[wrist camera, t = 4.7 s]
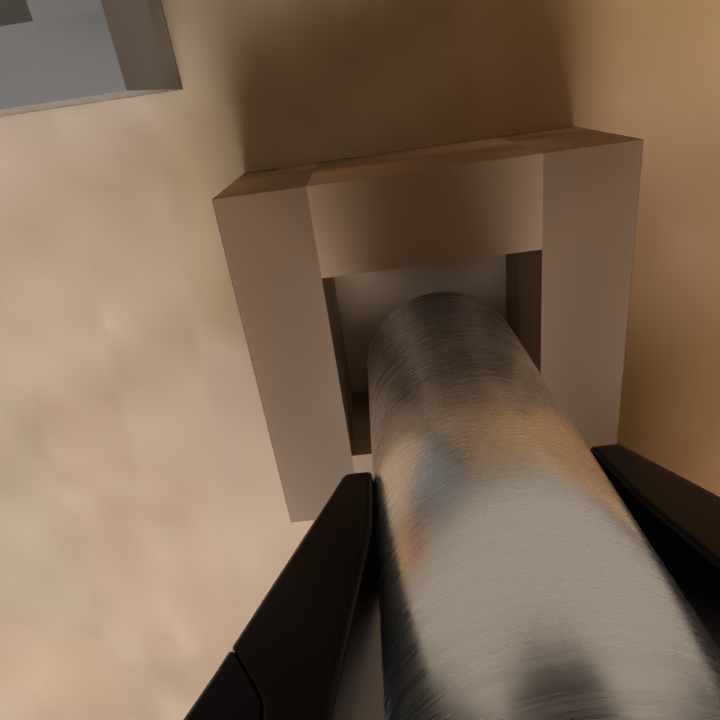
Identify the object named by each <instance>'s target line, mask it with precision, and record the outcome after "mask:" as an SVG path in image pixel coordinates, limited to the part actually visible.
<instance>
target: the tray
mask: <svg viewBox="0 0 720 720" xmlns="http://www.w3.org/2000/svg"><path fill="white" fill-rule="evenodd" d="M181 89H182V86H181V82H180V78H179V74H178V70H177V66H176V61H175V57H174V53H173V49H172V45H171V41H170V37H169V33H168V29H167V25H166V21H165V17H164V13H163V9H162V5H161V1H160V0H0V117H1V116H7V115H14V114H21V113H27V112H34V111H41V110H47V109H54V108H61V107H67V106H74V105H81V104H87V103H94V102H101V101H107V100H114V99H121V98H127V97H134V96H141V95H147V94H154V93H161V92H167V91H174V90H181Z"/></svg>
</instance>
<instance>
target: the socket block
mask: <svg viewBox="0 0 720 720" xmlns="http://www.w3.org/2000/svg"><path fill="white" fill-rule="evenodd" d="M642 150H643V139H638V138H633V137H628V136H622V135H617V134H612V133H606V132H601V131H596V130H590V129H585V128H580V127H568V128H561V129H554V130H547V131H540V132H533V133H526V134H519V135H511V136H504V137H497V138H490V139H483V140H476V141H469V142H462V143H455V144H448V145H441V146H434V147H427V148H420V149H413V150H406V151H399V152H391V153H384V154H377V155H370V156H363V157H356V158H349V159H342V160H335V161H328V162H321V163H314V164H307V165H300V166H293V167H286V168H279V169H272V170H264V171H257V172H250V173H244V174H243V175H242V176H241V177H239V178H238V179H237V180H236V181H234V182H233V183H232V184H231V185H229V186H228V187H227V188H226V189H225V190H223V191H222V192H221V193H220V194H218V195H217V196H216V197H215V198H213V199H212V202H213V206H214V211H215V215H216V219H217V223H218V227H219V231H220V235H221V239H222V243H223V247H224V251H225V255H226V259H227V264H228V268H229V272H230V276H231V280H232V284H233V288H234V292H235V296H236V300H237V304H238V308H239V312H240V317H241V321H242V325H243V329H244V333H245V337H246V341H247V345H248V349H249V353H250V357H251V361H252V365H253V370H254V374H255V378H256V382H257V386H258V390H259V394H260V398H261V402H262V406H263V410H264V414H265V418H266V423H267V427H268V431H269V435H270V439H271V443H272V447H273V451H274V455H275V459H276V463H277V467H278V471H279V476H280V480H281V484H282V488H283V492H284V496H285V500H286V504H287V508H288V512H289V516H290V520H291V522H298V521H307V520H316V518H317V517H318V515H319V514H320V512H321V511H322V509H323V507H324V506H325V504H326V503H327V501H328V500H329V498H330V497H331V495H332V494H333V492H334V491H335V489H336V487H337V486H338V484H339V483H340V481H341V480H342V478H343V477H344V476H345V475H347V474H353V473H362V472H370V473H371V474H372V476H373V469H372V449H371V428H370V408H369V388H368V368H367V359H368V351H369V347H370V343H371V341H372V338H373V336H374V334H375V332H376V330H377V328H378V327H379V326H380V324H381V323H382V322H383V320H384V319H385V318H386V317H387V316H388V315H389V314H390V313H391V312H392V311H394V310H395V309H396V308H397V307H399V306H400V305H402V304H404V303H405V302H407V301H409V300H411V299H413V298H415V297H418V296H421V295H424V294H429V293H434V292H445V291H449V292H460V293H465V294H469V295H472V296H475V297H477V298H479V299H481V300H484V301H485V302H487V303H488V304H490V305H491V306H493V307H494V308H495V309H496V310H497V311H498V312H499V313H500V314H501V315H502V316H503V317H504V319H505V320H506V321H507V323H508V324H509V326H510V327H511V329H512V331H513V332H514V334H515V335H516V337H517V338H518V340H519V341H520V343H521V344H522V346H523V347H524V349H525V351H526V352H527V354H528V355H529V357H530V358H531V360H532V361H533V363H534V364H535V366H536V368H537V369H538V371H539V372H540V374H541V375H542V377H543V378H544V380H545V381H546V383H547V384H548V386H549V388H550V389H551V391H552V392H553V394H554V395H555V397H556V398H557V400H558V401H559V403H560V405H561V406H562V408H563V409H564V411H565V412H566V414H567V415H568V417H569V418H570V420H571V421H572V423H573V425H574V426H575V428H576V429H577V431H578V432H579V434H580V435H581V437H582V438H583V440H584V442H585V443H586V445H587V446H588V448H589V449H591V448H592V447H594V446H602V445H610V444H617V436H618V424H619V413H620V401H621V390H622V379H623V367H624V356H625V344H626V333H627V321H628V310H629V299H630V287H631V276H632V264H633V253H634V241H635V230H636V219H637V207H638V196H639V184H640V173H641V161H642Z"/></svg>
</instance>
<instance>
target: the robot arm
mask: <svg viewBox="0 0 720 720" xmlns="http://www.w3.org/2000/svg"><path fill="white" fill-rule="evenodd" d="M590 451H591V452H592V454H593V455H594V457H595V459H596V460H597V462H598V463H599V465H600V466H601V468H602V469H603V471H604V472H605V474H606V475H607V477H608V479H609V480H610V482H611V483H612V485H613V486H614V488H615V489H616V491H617V492H618V494H619V496H620V497H621V499H622V500H623V502H624V503H625V505H626V506H627V508H628V509H629V511H630V512H631V514H632V516H633V517H634V519H635V520H636V522H637V523H638V525H639V526H640V528H641V529H642V531H643V533H644V534H645V536H646V537H647V539H648V540H649V542H650V543H651V545H652V546H653V548H654V549H655V551H656V553H657V554H658V556H659V557H660V559H661V560H662V562H663V563H664V565H665V566H666V568H667V570H668V571H669V573H670V574H671V576H672V577H673V579H674V580H675V582H676V583H677V585H678V586H679V588H680V590H681V591H682V593H683V594H684V596H685V597H686V599H687V600H688V602H689V603H690V605H691V607H692V608H693V610H694V611H695V613H696V614H697V616H698V617H699V619H700V620H701V622H702V623H703V625H704V627H705V628H706V630H707V631H708V633H709V634H710V636H711V637H712V639H713V640H714V642H715V644H716V645H717V647H718V648H719V650H720V497H719V496H717V495H715V494H713V493H711V492H709V491H707V490H706V489H704V488H702V487H700V486H698V485H696V484H694V483H692V482H690V481H689V480H687V479H685V478H683V477H681V476H679V475H677V474H675V473H673V472H671V471H670V470H668V469H666V468H664V467H662V466H660V465H658V464H656V463H654V462H653V461H651V460H649V459H647V458H645V457H643V456H641V455H639V454H637V453H635V452H634V451H632V450H630V449H628V448H626V447H624V446H622V445H619V444H610V445H602V446H594V447H592V448H591V449H590ZM184 720H385V710H384V690H383V670H382V649H381V629H380V609H379V589H378V569H377V537H376V517H375V498H374V481H373V476H372V474H371V473H370V472H362V473H353V474H347V475H345V476H344V477H343V478H342V480H341V481H340V483H339V484H338V486H337V487H336V489H335V491H334V492H333V494H332V495H331V497H330V498H329V500H328V501H327V503H326V504H325V506H324V507H323V509H322V511H321V512H320V514H319V515H318V517H317V518H316V520H315V521H314V523H313V524H312V526H311V527H310V529H309V531H308V532H307V534H306V535H305V537H304V538H303V540H302V541H301V543H300V544H299V546H298V547H297V549H296V551H295V552H294V554H293V555H292V557H291V558H290V560H289V561H288V563H287V564H286V566H285V567H284V569H283V571H282V572H281V574H280V575H279V577H278V578H277V580H276V581H275V583H274V584H273V586H272V587H271V589H270V590H269V592H268V594H267V595H266V597H265V598H264V600H263V601H262V603H261V604H260V606H259V607H258V609H257V610H256V612H255V614H254V615H253V617H252V618H251V620H250V621H249V623H248V624H247V626H246V627H245V629H244V630H243V632H242V634H241V635H240V637H239V638H238V640H237V641H236V643H235V644H234V646H233V652H229V653H228V654H227V656H226V658H225V659H224V661H223V662H222V664H221V665H220V667H219V668H218V670H217V672H216V673H215V675H214V676H213V678H212V679H211V681H210V682H209V683H208V685H207V686H206V688H205V689H204V691H203V692H202V694H201V695H200V697H199V698H198V699H197V701H196V702H195V704H194V705H193V707H192V708H191V710H190V711H189V713H188V714H187V715H186V717H185V718H184Z"/></svg>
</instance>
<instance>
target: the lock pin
mask: <svg viewBox="0 0 720 720" xmlns="http://www.w3.org/2000/svg"><path fill="white" fill-rule="evenodd" d="M367 368H368V388H369V408H370V428H371V449H372V469H373V481H374V498H375V517H376V537H377V569H378V589H379V609H380V629H381V649H382V670H383V690H384V710H385V720H720V650H719V648H718V647H717V645H716V644H715V642H714V640H713V639H712V637H711V636H710V634H709V633H708V631H707V630H706V628H705V627H704V625H703V623H702V622H701V620H700V619H699V617H698V616H697V614H696V613H695V611H694V610H693V608H692V607H691V605H690V603H689V602H688V600H687V599H686V597H685V596H684V594H683V593H682V591H681V590H680V588H679V586H678V585H677V583H676V582H675V580H674V579H673V577H672V576H671V574H670V573H669V571H668V570H667V568H666V566H665V565H664V563H663V562H662V560H661V559H660V557H659V556H658V554H657V553H656V551H655V549H654V548H653V546H652V545H651V543H650V542H649V540H648V539H647V537H646V536H645V534H644V533H643V531H642V529H641V528H640V526H639V525H638V523H637V522H636V520H635V519H634V517H633V516H632V514H631V512H630V511H629V509H628V508H627V506H626V505H625V503H624V502H623V500H622V499H621V497H620V496H619V494H618V492H617V491H616V489H615V488H614V486H613V485H612V483H611V482H610V480H609V479H608V477H607V475H606V474H605V472H604V471H603V469H602V468H601V466H600V465H599V463H598V462H597V460H596V459H595V457H594V455H593V454H592V452H591V451H590V449H589V448H588V446H587V445H586V443H585V442H584V440H583V438H582V437H581V435H580V434H579V432H578V431H577V429H576V428H575V426H574V425H573V423H572V421H571V420H570V418H569V417H568V415H567V414H566V412H565V411H564V409H563V408H562V406H561V405H560V403H559V401H558V400H557V398H556V397H555V395H554V394H553V392H552V391H551V389H550V388H549V386H548V384H547V383H546V381H545V380H544V378H543V377H542V375H541V374H540V372H539V371H538V369H537V368H536V366H535V364H534V363H533V361H532V360H531V358H530V357H529V355H528V354H527V352H526V351H525V349H524V347H523V346H522V344H521V343H520V341H519V340H518V338H517V337H516V335H515V334H514V332H513V331H512V329H511V327H510V326H509V324H508V323H507V321H506V320H505V319H504V317H503V316H502V315H501V314H500V313H499V312H498V311H497V310H496V309H495V308H494V307H493V306H491V305H490V304H488V303H487V302H485V301H484V300H481V299H479V298H477V297H475V296H472V295H469V294H465V293H460V292H449V291H445V292H434V293H429V294H424V295H421V296H418V297H415V298H413V299H411V300H409V301H407V302H405V303H404V304H402V305H400V306H399V307H397V308H396V309H395V310H394V311H392V312H391V313H390V314H389V315H388V316H387V317H386V318H385V319H384V320H383V322H382V323H381V324H380V326H379V327H378V328H377V330H376V332H375V334H374V336H373V338H372V341H371V343H370V347H369V351H368V359H367Z"/></svg>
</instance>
